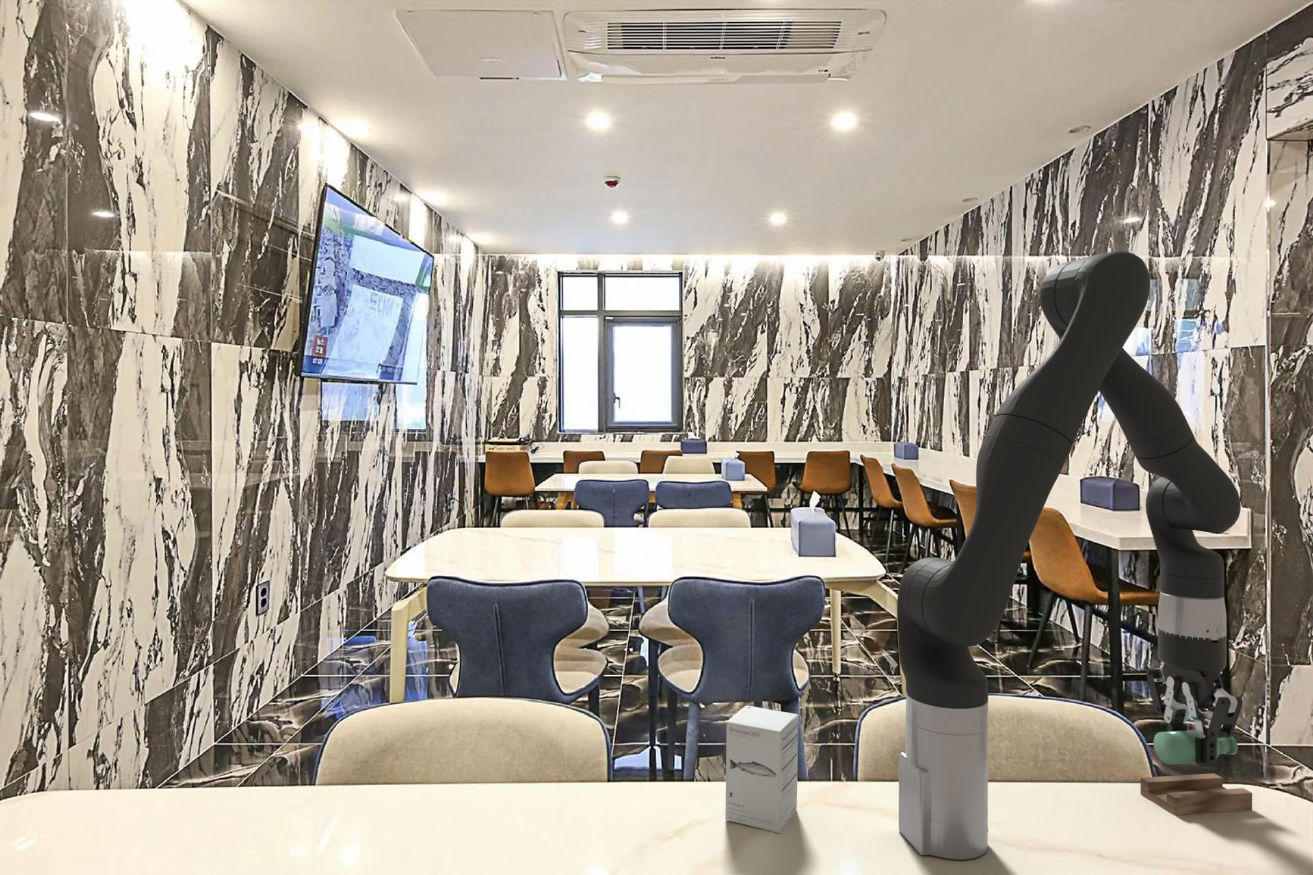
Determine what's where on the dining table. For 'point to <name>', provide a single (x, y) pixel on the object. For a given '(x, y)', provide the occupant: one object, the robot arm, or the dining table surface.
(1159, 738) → the bottle
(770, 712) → the supplement box
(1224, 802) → the bottle rest
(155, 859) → the dining table surface
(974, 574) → the robot arm
